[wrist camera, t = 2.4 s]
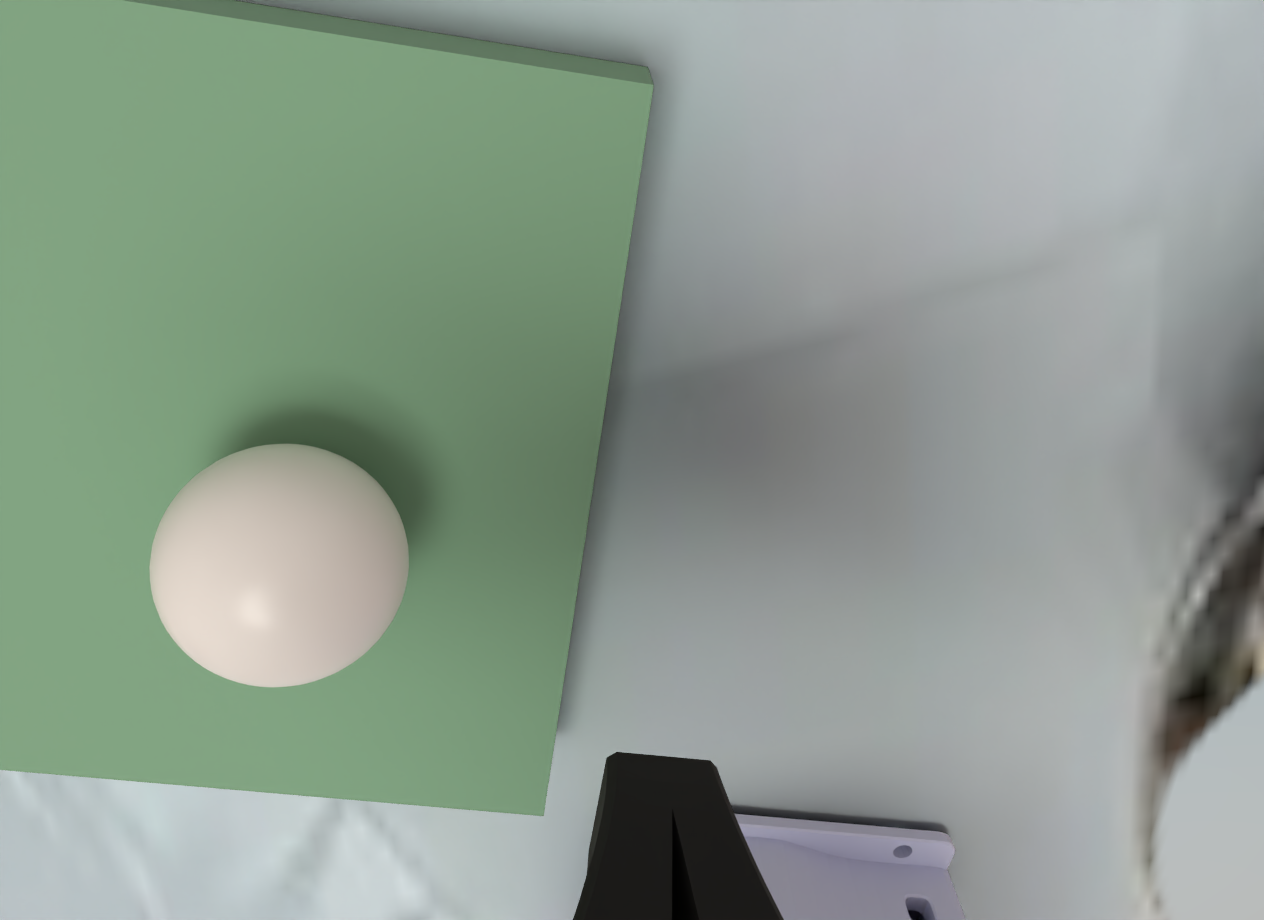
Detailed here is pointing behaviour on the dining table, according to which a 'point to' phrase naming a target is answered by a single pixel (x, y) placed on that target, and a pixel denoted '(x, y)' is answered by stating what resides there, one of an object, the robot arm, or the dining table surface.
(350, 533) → the ball
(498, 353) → the putting mat
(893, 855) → the robot arm
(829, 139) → the dining table surface
